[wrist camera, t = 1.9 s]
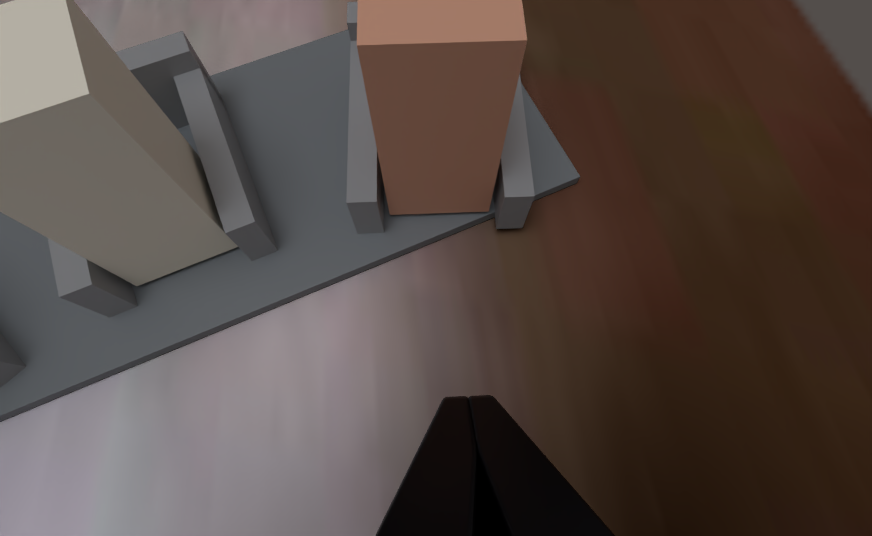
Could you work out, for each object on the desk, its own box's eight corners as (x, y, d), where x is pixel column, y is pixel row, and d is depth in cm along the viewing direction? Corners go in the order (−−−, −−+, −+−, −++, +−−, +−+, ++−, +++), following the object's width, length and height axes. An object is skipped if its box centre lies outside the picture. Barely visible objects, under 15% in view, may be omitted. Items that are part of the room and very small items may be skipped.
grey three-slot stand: (589, 204, 24) (624, 148, 19) (-245, 556, 18) (-454, 589, 14) (462, -1, 28) (467, -82, 24) (-238, 237, 23) (-395, 188, 19)
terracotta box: (488, 211, 22) (527, 40, 13) (389, 214, 22) (356, 45, 13) (482, 137, 24) (513, -67, 14) (389, 140, 24) (359, -62, 14)
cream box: (238, 246, 22) (89, 93, 12) (136, 286, 21) (-102, 156, 12) (214, 174, 23) (61, -14, 14) (117, 210, 22) (-112, 37, 13)
